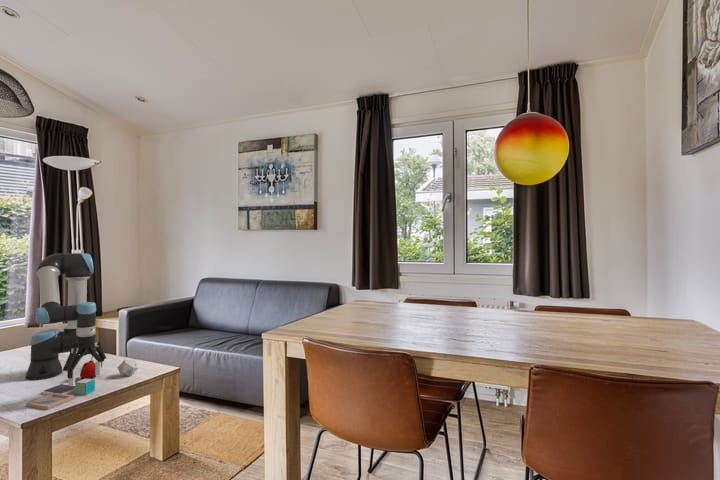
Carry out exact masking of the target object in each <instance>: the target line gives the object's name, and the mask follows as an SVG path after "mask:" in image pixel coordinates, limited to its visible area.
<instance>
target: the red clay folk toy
mask: <svg viewBox="0 0 720 480" xmlns="http://www.w3.org/2000/svg"><path fill="white" fill-rule="evenodd" d="M90 357H91V359H90V360H89V361H87V362H85V363H83V365H82V367H81V369H80V373H79V376H80V380H83V379H95V378H96V377H97V375H95V362H94V360H93V358H94V357H93V356H92V355H90Z"/></svg>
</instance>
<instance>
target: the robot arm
mask: <svg viewBox="0 0 720 480" xmlns="http://www.w3.org/2000/svg"><path fill="white" fill-rule="evenodd" d="M93 261H94V260H93V258H92V256H91V254H90V253H84V252H83V253H81V252H77V253H73V252H72V253H69V252H68V253H67V252H66V253H62V252H61V253H53V254H50V255H47V256H46V257H45V258H43V259H42V260H41V261H40V262H39V264H38V265H37V267H36V277H37V278H38V279H39V298H40V300H39V303H40V307H37V308H36V309H35V323H36V324H39V325H41V324H42V325H43V324H45V325H46V324H53V323H61V322H62V323H63V322H67V324H66V325H65V326H64V327H63V331H62V330H61V331H60V329H58V328H51V329H46V330H42V331H39V332H36V333H33V335H32V336H31V338H30V363H29V366H28V368H27V371H26V373H25V379H26V380H32V381H36V380H37V381H38V380H44V379H50V378H54V377H58V376H60V375H61V374H63V371H65V372H67V379H68V385H72V386H75V383H76V370H74V369H75V368H76V367H77V365H78V364H79V362H80V361H81V359H82V358H83V357H85V356H87V355H90V356H93V358H94V359H95V362H94V363H95V375H96V376H99V377H100V376H102V368H103V362H105V360H107V356H106V354H105V351H104V349H103V348H102V345H101V341H99V342H98V341H96V340H97V339H96V330H97V329H96V325H97V324H96V323H97V321H96V320H97V319H96V318H97V313H96V312H97V304H96V302H94V301H93V302H92V301H88V299H87V298H88V296H87V295H88V289H87V288H88V280H89V279H90V278H91V275H93V274H94V270H95V269H94V262H93ZM62 275H64V279H65V280H66V281H67V305H61V297H60V286H59V276H62ZM65 353H69V355H68V357H67V359H66V361H65V364H64V366H63V367H62V364H61V362H60V359H59V354H65Z"/></svg>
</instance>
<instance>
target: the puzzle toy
mask: <svg viewBox="0 0 720 480" xmlns="http://www.w3.org/2000/svg"><path fill="white" fill-rule="evenodd" d="M74 386H75V391H74V394H75V395H78V396H87V395H88V394H91V393H94V392H95V390H96V379H95V378H93V379H83V380H81V379H80V380H78V381H75V385H74Z"/></svg>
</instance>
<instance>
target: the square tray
mask: <svg viewBox="0 0 720 480" xmlns="http://www.w3.org/2000/svg"><path fill="white" fill-rule="evenodd" d="M72 400H75V395H74V394H73V395H72V394H59V393H52V394H49V395H44V396H42V397H39V398H37V399H34V400H31V401H28V402H26V407H27V408H28V407H29V408H35V409H41V410H47V411H48V410H52V409H53V408H55V407H58V406H61V405H63V404H65V403H68V402H70V401H72Z"/></svg>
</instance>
